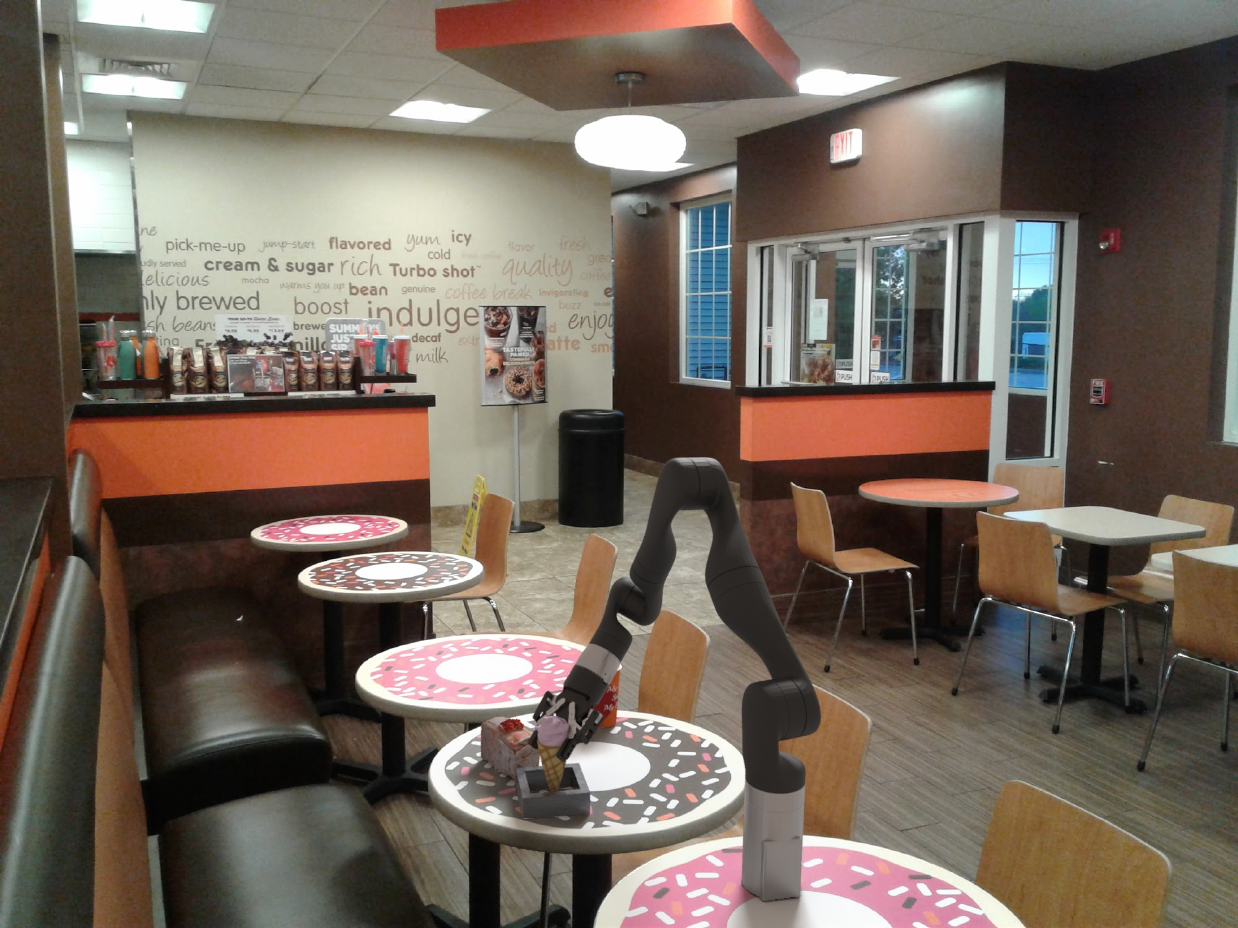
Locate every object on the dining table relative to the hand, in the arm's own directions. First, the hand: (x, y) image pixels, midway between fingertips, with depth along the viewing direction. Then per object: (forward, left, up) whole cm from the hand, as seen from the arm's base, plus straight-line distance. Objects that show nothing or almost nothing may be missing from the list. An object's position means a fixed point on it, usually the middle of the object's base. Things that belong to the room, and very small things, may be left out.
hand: (546, 752), depth 180 cm
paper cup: (+34, -17, -10) cm, 39 cm away
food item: (+16, +5, -10) cm, 19 cm away
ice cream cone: (+1, -1, -8) cm, 8 cm away
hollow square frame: (+1, -1, -10) cm, 10 cm away
